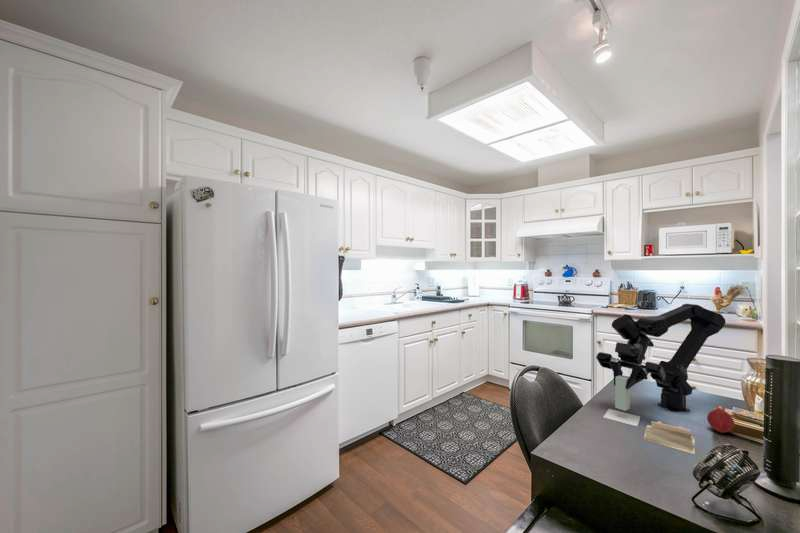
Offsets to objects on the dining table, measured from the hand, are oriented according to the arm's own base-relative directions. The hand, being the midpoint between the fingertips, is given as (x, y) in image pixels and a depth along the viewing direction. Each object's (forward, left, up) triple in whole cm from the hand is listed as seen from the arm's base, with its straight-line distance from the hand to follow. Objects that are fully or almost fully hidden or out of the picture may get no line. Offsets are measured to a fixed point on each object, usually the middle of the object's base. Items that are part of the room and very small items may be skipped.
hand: (620, 387), depth 108 cm
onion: (-24, +10, -11) cm, 28 cm away
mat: (-1, -1, -11) cm, 11 cm away
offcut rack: (-5, +13, -11) cm, 17 cm away
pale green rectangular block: (-1, -1, -7) cm, 7 cm away
